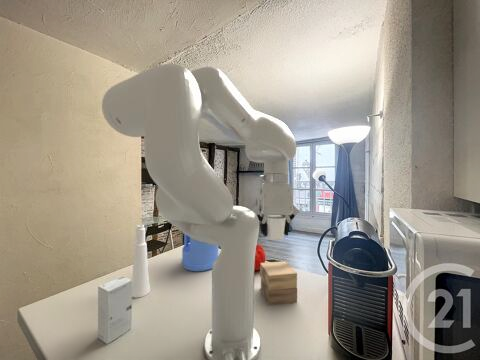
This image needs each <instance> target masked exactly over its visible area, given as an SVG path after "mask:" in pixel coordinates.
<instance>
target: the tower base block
mask: <svg viewBox="0 0 480 360" xmlns="http://www.w3.org/2000/svg"><path fill="white" fill-rule="evenodd" d="M260 289H261V292H262V294H263V296H264V298H265V299H266V301H267V304H268V305H279V304H290V303H298V287H297V288H289V289H279V290H270V291H269V290H268V288H267V287H266V285H265V283H264V281H263V280H262V278H261V277H260Z"/></svg>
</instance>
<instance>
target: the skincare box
mask: <svg viewBox="0 0 480 360" xmlns="http://www.w3.org/2000/svg"><path fill="white" fill-rule="evenodd" d="M97 293H98V294H97V338H98V339H99V340H101V341H102V342H103V343H105V344H106V345H108V344H110V343H112V342H113V341H115V340H116V339H118V338H119V337H121V336H122V335H124V334H125V333H127V332H128V331H130V330H131V328H132V326H133V325H132V324H133V323H132V322H133V318H132V317H133V316H132V315H133V313H132V311H133V309H132V308H133V305H132V304H133V303H132V302H133V299H132V298H133V297H132V279H130V278H127V277H124V276H120V277H118V278H117V279H116V278H115V279H113V280H110V281H108V282H105V283H104V284H101V285H99V286H97Z"/></svg>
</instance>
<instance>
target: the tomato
mask: <svg viewBox="0 0 480 360" xmlns="http://www.w3.org/2000/svg"><path fill="white" fill-rule="evenodd" d="M260 263H266V254H265V249H264V247H263V246H262V245H261V244H257V245H256V251H255V264H254V271H259V270H260Z"/></svg>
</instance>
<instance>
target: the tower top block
mask: <svg viewBox="0 0 480 360" xmlns="http://www.w3.org/2000/svg"><path fill="white" fill-rule="evenodd" d="M259 276H260V279H261V278H262V280H263V281H264V283H265V285H266V287H267V288H268V290H269V291H270V290H279V289H289V288H297V289H298V287H297V286H298V272H297V271H296V270H294V269H293V268H292V266H290V264H289V263H287V261H286V260H285V261H284V260H283V261H270V262H265V263H260V273H259Z"/></svg>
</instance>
